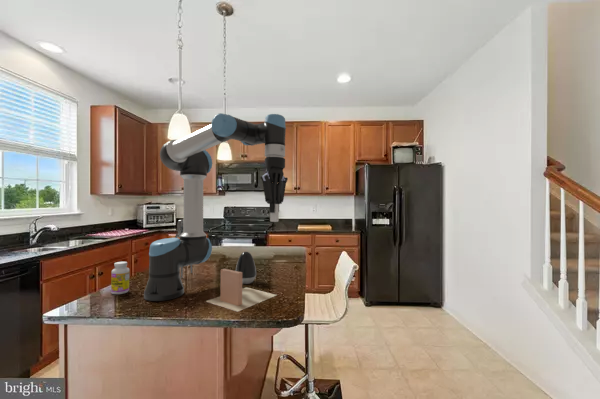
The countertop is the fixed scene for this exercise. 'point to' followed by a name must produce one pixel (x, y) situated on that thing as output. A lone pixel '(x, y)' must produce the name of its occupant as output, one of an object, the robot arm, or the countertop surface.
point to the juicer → (180, 231)
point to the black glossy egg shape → (246, 267)
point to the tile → (231, 287)
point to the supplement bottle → (120, 278)
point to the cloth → (244, 299)
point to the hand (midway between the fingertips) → (274, 221)
